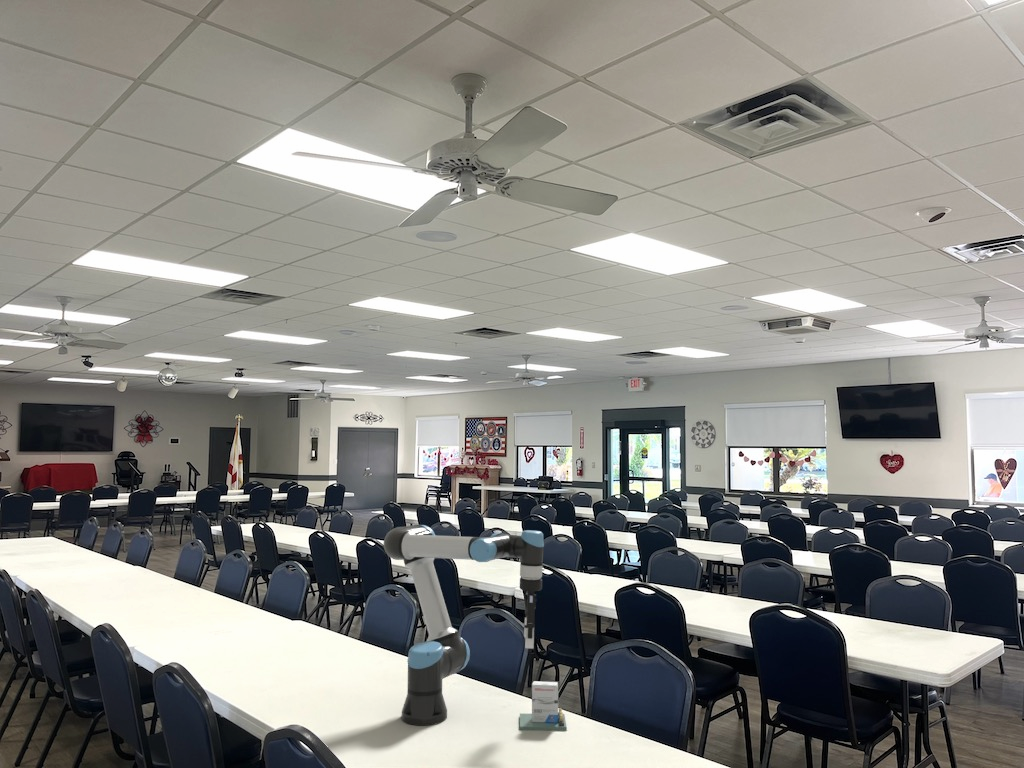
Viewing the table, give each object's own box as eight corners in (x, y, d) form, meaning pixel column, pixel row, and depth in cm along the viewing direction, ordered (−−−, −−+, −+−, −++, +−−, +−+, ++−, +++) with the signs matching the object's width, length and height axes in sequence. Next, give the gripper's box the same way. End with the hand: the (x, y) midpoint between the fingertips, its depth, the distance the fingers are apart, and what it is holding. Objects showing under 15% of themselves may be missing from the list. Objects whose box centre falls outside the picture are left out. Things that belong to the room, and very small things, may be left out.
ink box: (558, 718, 239) (558, 681, 240) (557, 723, 234) (557, 685, 235) (532, 716, 240) (533, 680, 241) (531, 722, 235) (531, 684, 236)
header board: (519, 729, 231) (519, 718, 231) (519, 716, 243) (519, 705, 243) (566, 730, 231) (566, 718, 231) (564, 717, 243) (564, 705, 243)
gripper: (544, 585, 230) (541, 653, 228) (540, 571, 254) (538, 633, 253) (520, 584, 230) (518, 652, 228) (519, 570, 254) (516, 632, 253)
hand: (528, 642), depth 240 cm, fingers open, 13 cm apart
